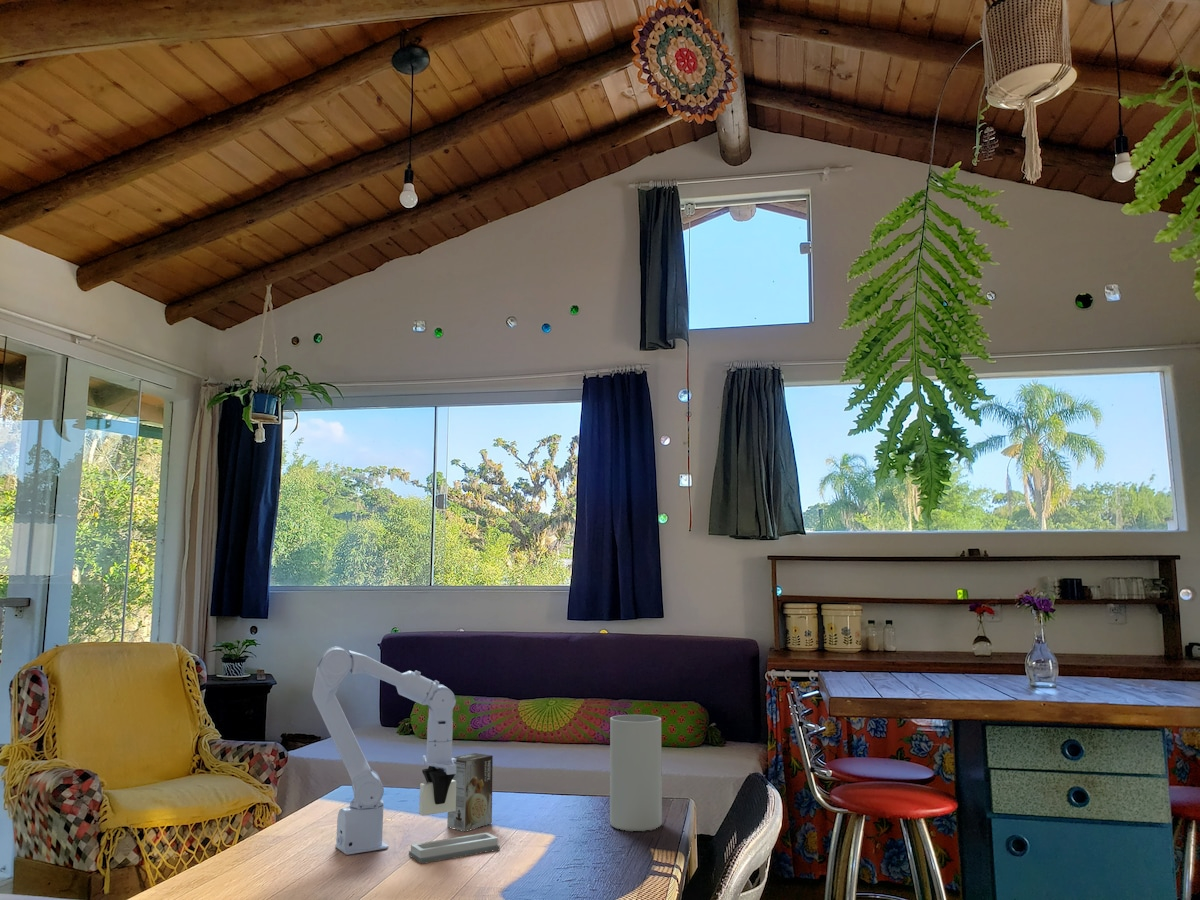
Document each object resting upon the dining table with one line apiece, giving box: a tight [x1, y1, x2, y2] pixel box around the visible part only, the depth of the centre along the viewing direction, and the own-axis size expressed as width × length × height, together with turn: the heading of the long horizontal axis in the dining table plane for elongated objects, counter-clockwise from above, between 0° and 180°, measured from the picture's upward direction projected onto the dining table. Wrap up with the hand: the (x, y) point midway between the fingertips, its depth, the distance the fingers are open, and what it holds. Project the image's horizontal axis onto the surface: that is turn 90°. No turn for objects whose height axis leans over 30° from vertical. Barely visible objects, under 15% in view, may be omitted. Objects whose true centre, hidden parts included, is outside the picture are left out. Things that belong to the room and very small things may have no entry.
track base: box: [408, 832, 500, 864], centre depth 192 cm, size 18×7×2 cm, turn 124°
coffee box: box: [446, 752, 494, 832], centre depth 215 cm, size 9×6×16 cm
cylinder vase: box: [609, 714, 663, 832], centre depth 217 cm, size 12×12×25 cm
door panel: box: [418, 780, 456, 817], centre depth 202 cm, size 8×2×6 cm, turn 124°
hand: (437, 802), depth 202 cm, fingers closed on door panel, 2 cm apart
